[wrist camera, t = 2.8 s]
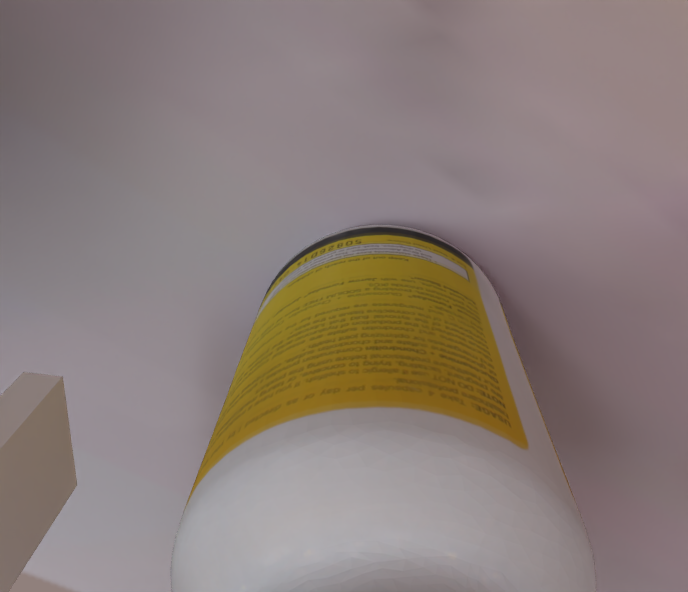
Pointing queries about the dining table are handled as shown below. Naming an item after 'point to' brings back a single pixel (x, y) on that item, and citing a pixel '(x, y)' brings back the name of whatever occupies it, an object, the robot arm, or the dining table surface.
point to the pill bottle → (381, 438)
